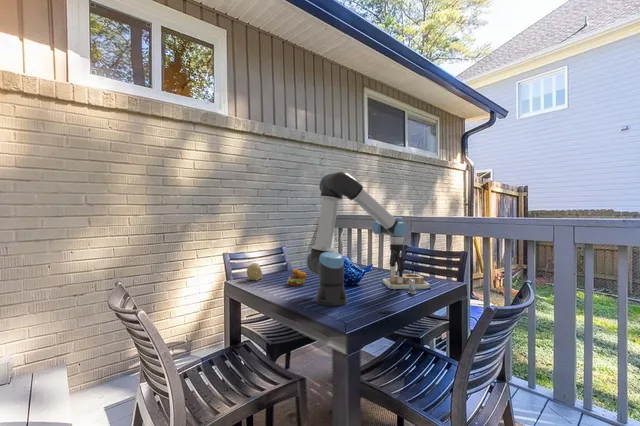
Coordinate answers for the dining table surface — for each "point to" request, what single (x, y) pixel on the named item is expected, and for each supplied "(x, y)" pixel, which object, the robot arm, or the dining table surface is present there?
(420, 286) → the tray
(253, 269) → the pale yellow lumpy ball
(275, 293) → the dining table surface
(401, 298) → the dining table surface
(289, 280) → the cheeseburger
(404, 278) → the collar
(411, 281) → the post
